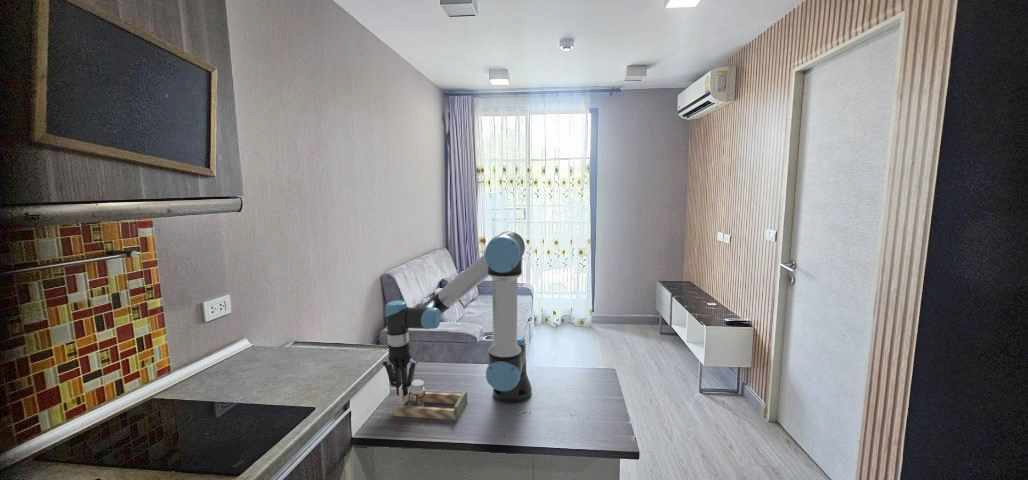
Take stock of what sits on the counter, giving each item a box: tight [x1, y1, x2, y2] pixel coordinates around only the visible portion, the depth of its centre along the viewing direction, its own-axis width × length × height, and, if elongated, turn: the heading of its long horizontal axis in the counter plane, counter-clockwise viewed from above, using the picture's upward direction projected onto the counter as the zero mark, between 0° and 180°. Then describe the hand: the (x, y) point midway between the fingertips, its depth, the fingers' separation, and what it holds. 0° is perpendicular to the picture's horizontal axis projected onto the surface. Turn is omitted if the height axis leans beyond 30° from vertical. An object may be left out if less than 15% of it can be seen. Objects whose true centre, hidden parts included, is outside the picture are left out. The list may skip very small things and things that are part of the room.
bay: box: [392, 390, 468, 421], centre depth 147 cm, size 24×11×5 cm, turn 80°
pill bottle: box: [407, 379, 426, 407], centre depth 147 cm, size 6×6×10 cm
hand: (403, 403), depth 149 cm, fingers closed
